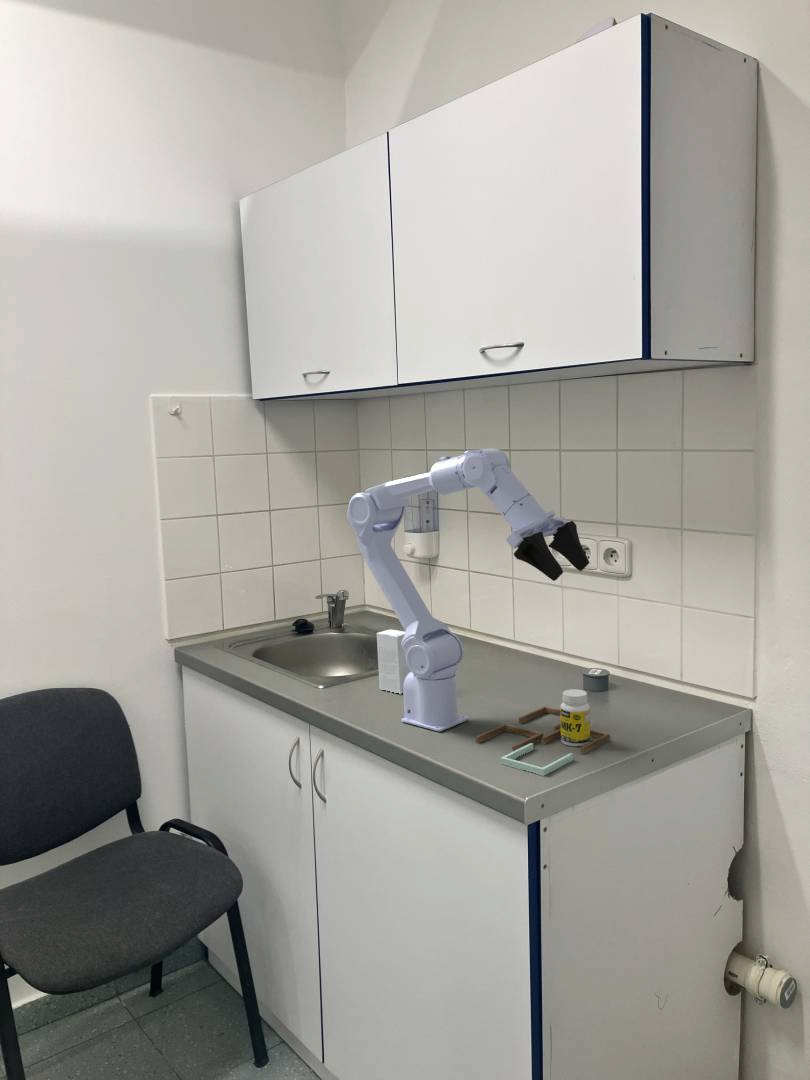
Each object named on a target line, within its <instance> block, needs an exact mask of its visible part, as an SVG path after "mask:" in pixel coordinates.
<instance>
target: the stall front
mask: <svg viewBox="0 0 810 1080" xmlns="http://www.w3.org/2000/svg"><path fill="white" fill-rule="evenodd" d="M557 738H561V729H558V730H556V731H555V730H554V731H553V732H550V733H548V734H547V735H543V737H542V738H541V740H540V742H541V745H545V744H548V743H549V742H551V741H554V740H556V739H557ZM590 738H594V740H592V741H590V742H589V743H588V744H586V745H585V746H580V754H581V755H585V754H587V753H588V752H590V751H592V750H594V749H596V748H598V747H600V746H601V745H603V744H605V743H607V742H609V741H610V739H611V736H610V733H608V732H607V733H606V732H603V731H598V730H594V729H590Z"/></svg>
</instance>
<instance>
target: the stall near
mask: <svg viewBox="0 0 810 1080" xmlns="http://www.w3.org/2000/svg"><path fill="white" fill-rule="evenodd" d="M504 732H508V733H509V732H510V733H513V734H517V735H521V736H524V737H529V738H527V739H525V740H522V741H520V742H519V743H518V742H517V744H514V745H512V748H511V752H513V751H515V750H518V749H520V748H522V747H524V746H526V745H528V744H530V743H533V745H534V744H536V743H538V742H541V738H542V737H544V732H539V731H535V730H533V729H532V730H531V729H527V728H523V727H520V726H515V725H511V724H508V723H507V724H506V723H504V724H501V725H500V726H497V727H495V728H493V729H491V730H488V731H486V732H483V733H480V734H479V735H477V736H475V743H476V744H480V743H483V742H484V741H486V740H489V739H492V738H493V737H495V736H497V735H500V734H502V733H504Z"/></svg>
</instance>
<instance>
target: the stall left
mask: <svg viewBox="0 0 810 1080" xmlns="http://www.w3.org/2000/svg"><path fill="white" fill-rule="evenodd" d="M543 714H548V715H549V714H550V715H555V716H559V717H561V714H560V708H559V709H558V708H555V707H550V706H545V705H544V706H542V707H540V708H538V709H535V710H533V711H531V712H529V713H527V714H524V715H521V716H519V717H518V724H524V723H526V722H528V721H530V720H532V719H534V718H537V717H540V716H541V715H543ZM553 728H554V731H556V730H558V729H561V722H559V723H558V724H556V725H554V727H553Z"/></svg>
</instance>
